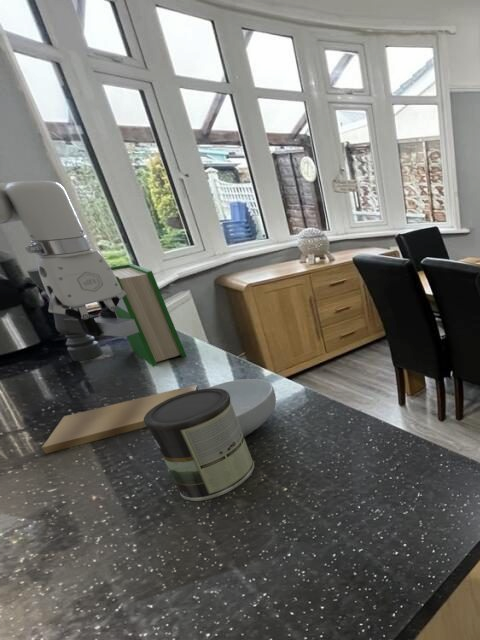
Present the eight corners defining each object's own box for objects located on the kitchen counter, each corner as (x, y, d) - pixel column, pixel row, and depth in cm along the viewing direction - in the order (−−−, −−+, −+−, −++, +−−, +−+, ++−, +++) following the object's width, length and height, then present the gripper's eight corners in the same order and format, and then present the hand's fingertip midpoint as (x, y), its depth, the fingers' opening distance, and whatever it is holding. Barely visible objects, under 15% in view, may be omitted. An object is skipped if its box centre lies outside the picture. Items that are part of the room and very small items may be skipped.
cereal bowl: (234, 403, 86) (223, 375, 83) (300, 410, 82) (292, 381, 79) (155, 454, 70) (139, 422, 68) (233, 465, 67) (219, 431, 64)
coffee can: (170, 510, 58) (130, 433, 53) (190, 467, 67) (158, 396, 61) (249, 489, 62) (220, 414, 56) (259, 450, 71) (234, 382, 65)
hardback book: (186, 356, 109) (151, 271, 99) (153, 366, 104) (112, 277, 94) (165, 342, 119) (131, 263, 109) (133, 351, 113) (95, 269, 103)
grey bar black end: (140, 331, 86) (134, 318, 84) (123, 337, 83) (117, 323, 82) (86, 327, 89) (80, 314, 88) (69, 332, 86) (62, 318, 85)
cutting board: (45, 454, 71) (41, 447, 71) (67, 422, 81) (63, 416, 80) (194, 414, 82) (191, 408, 82) (198, 390, 91) (196, 384, 91)
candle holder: (66, 360, 109) (18, 271, 99) (91, 351, 114) (48, 266, 104) (84, 361, 108) (37, 271, 98) (109, 352, 113) (67, 266, 103)
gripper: (22, 256, 70) (71, 348, 78) (123, 240, 85) (156, 320, 92) (-7, 255, 72) (44, 346, 80) (97, 240, 87) (132, 318, 94)
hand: (104, 331), depth 86 cm, fingers closed on grey bar black end, 3 cm apart
